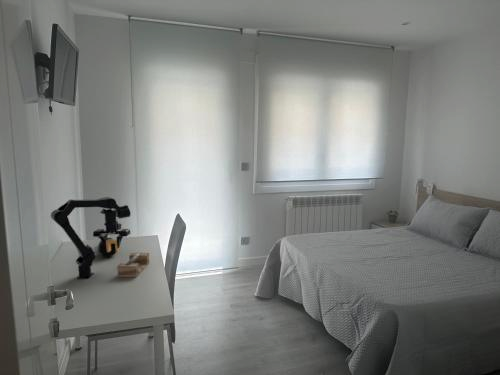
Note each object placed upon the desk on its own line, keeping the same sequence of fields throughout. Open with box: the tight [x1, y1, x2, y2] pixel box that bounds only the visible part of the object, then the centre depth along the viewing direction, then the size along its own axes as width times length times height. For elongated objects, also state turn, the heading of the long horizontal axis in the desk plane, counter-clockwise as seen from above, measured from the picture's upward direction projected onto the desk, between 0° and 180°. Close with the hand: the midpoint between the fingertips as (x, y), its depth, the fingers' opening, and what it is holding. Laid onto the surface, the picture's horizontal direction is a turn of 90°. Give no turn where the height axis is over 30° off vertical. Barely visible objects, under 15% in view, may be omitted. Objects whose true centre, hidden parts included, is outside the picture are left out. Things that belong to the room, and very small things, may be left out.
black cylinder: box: [98, 236, 117, 258], centre depth 227 cm, size 10×34×10 cm, turn 23°
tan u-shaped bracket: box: [106, 238, 121, 253], centre depth 194 cm, size 6×3×6 cm, turn 87°
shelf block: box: [116, 252, 150, 278], centre depth 192 cm, size 20×10×7 cm, turn 177°
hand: (113, 247), depth 194 cm, fingers closed on tan u-shaped bracket, 6 cm apart
